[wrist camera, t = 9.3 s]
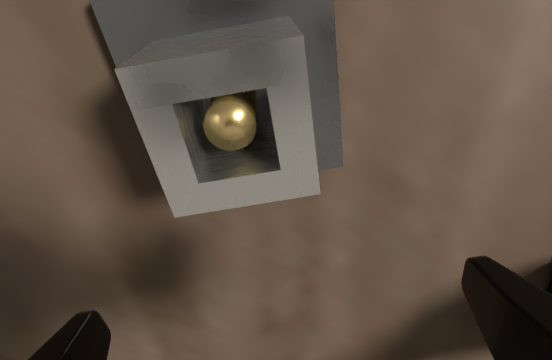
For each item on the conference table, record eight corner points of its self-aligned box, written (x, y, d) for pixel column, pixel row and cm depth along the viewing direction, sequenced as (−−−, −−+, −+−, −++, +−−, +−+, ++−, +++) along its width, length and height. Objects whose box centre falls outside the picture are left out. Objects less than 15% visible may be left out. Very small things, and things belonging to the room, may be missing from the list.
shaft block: (326, -48, 14) (356, -55, 10) (339, 157, 20) (362, 209, 15) (97, -5, 15) (34, 5, 10) (170, 185, 20) (148, 243, 16)
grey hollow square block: (288, 16, 15) (303, 35, 10) (304, 140, 18) (320, 194, 14) (153, 40, 15) (114, 69, 11) (193, 159, 18) (174, 217, 14)
